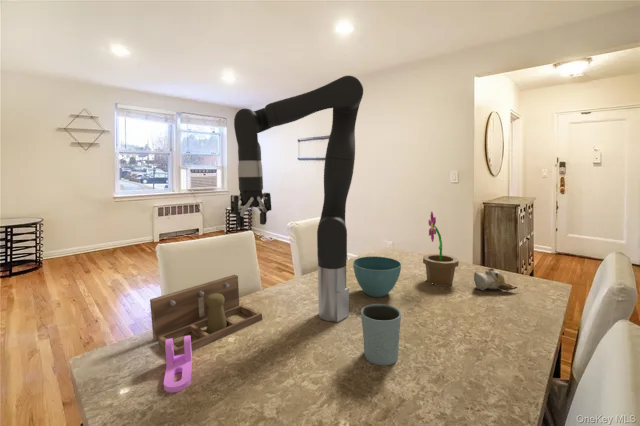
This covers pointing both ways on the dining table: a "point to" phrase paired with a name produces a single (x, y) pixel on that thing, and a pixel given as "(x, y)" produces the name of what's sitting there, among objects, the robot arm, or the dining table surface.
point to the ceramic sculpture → (491, 281)
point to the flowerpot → (439, 261)
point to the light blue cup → (381, 333)
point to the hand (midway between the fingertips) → (252, 226)
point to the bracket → (178, 366)
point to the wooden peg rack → (197, 313)
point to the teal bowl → (376, 274)
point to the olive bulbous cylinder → (215, 313)
